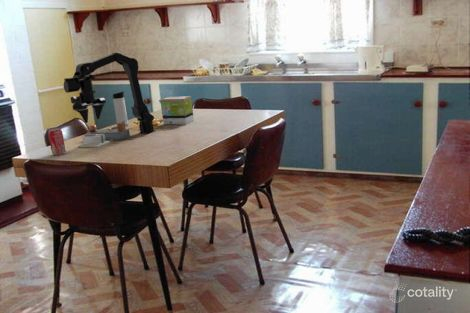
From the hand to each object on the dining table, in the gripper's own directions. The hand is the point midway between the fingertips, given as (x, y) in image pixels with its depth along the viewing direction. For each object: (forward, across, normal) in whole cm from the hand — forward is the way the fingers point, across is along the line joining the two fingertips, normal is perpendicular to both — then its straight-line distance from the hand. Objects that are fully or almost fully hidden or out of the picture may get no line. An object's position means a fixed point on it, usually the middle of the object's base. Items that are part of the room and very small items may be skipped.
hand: (92, 121), depth 258 cm
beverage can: (+12, +20, -6) cm, 24 cm away
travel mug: (+12, -44, -14) cm, 48 cm away
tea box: (+12, -50, +20) cm, 55 cm away
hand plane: (+12, -12, -1) cm, 17 cm away
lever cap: (+11, +1, 0) cm, 11 cm away
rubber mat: (+12, +1, 0) cm, 12 cm away
